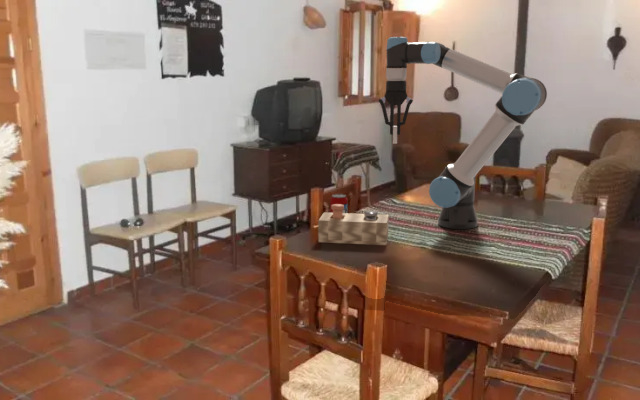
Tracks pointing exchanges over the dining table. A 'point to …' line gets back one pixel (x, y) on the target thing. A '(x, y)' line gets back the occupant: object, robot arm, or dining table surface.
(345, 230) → the block
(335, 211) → the terracotta plug
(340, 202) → the beverage can
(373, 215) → the grey plug
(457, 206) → the robot arm
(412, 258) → the dining table surface
